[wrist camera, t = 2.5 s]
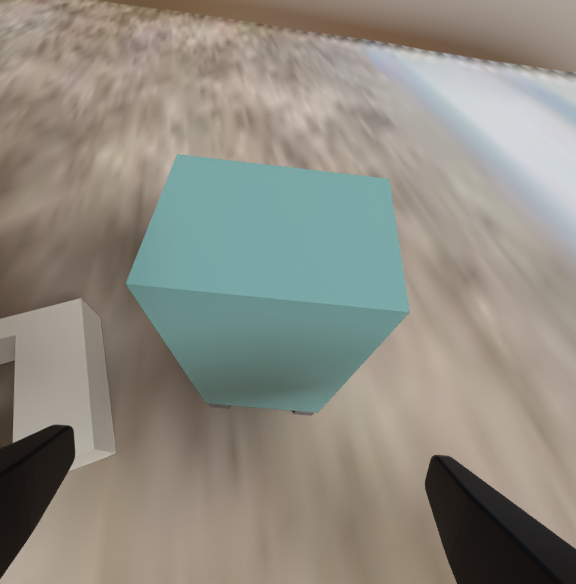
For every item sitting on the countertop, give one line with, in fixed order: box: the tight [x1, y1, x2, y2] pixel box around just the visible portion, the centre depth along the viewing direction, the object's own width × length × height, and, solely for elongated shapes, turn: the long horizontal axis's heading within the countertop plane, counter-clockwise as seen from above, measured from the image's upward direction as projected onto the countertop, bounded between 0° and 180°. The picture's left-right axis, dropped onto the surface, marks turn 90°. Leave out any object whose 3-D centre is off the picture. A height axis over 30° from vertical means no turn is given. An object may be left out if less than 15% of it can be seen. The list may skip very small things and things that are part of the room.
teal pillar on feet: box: [126, 154, 410, 415], centre depth 13 cm, size 4×6×13 cm
